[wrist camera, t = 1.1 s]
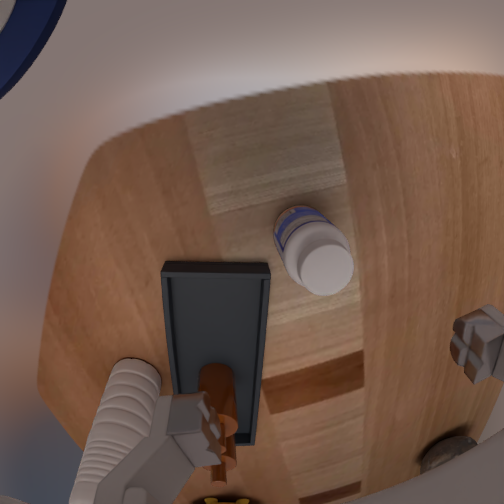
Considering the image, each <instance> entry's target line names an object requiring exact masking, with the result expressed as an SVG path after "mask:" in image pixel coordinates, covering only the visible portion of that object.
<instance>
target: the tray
mask: <svg viewBox="0 0 504 504" xmlns="http://www.w3.org/2000/svg"><path fill="white" fill-rule="evenodd" d="M270 279H271V273H270V270H269V267H268V264H267V263H233V262H181V261H165V263H164V265H163V267H162V270H161V285H162V298H163V309H164V320H165V329H166V339H167V347H168V355H169V363H170V371H171V378H172V385H173V392H174V395H176V394H185V393H193V392H197V384H198V373H199V371H200V369H201V368H202V367H204V366H205V365H207V364H211V363H221V364H224V365H227V366H228V367H230V368H231V369H232V370H233V372H234V374H235V386H236V402H237V416H238V429H237V431H236V432H235V445H236V446H250V445H254V444H255V435H256V426H257V417H258V407H259V398H260V388H261V378H262V368H263V357H264V347H265V336H266V325H267V314H268V302H269V291H270Z"/></svg>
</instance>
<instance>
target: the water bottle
mask: <svg viewBox="0 0 504 504" xmlns="http://www.w3.org/2000/svg"><path fill="white" fill-rule="evenodd" d="M160 389H161V377H160V375H159V374H158V372H157V370H156V369H155V368H154V367H153V366H151V365H150V364H146V362H144V361H142V360H139V359H129V358H128V359H123V360H120V361H119V362H117V363H116V364H115V365H114V367H113V369H112V372H111V374H110V376H109V381H108V382H107V384H106V387H105V392H104V394H103V395H102V398H101V401H100V405H99V407H98V409H97V415H96V416H95V418H94V421H93V424H92V429H91V430H90V433H89V435H88V439H87V443H86V447H85V449H84V453H83V455H82V456H83V457H82V459H81V462H80V464H81V465H80V466H79V471H78V473H77V478H76V479H75V485H74V487H73V489H72V492H71V495H70V499H69V504H93V502H94V498H95V493H96V489H97V485H98V483H99V482H100V481H101V480H102V479H103V478H104V477H105V476H106V475H107V474H108V473H109V472H110V471H111V470H112V469H113V468H114V467H115V466H116V465H117V464H118V463H119V462H120V461H121V460H122V459H123V458H124V457H125V456H126V455H127V454H128V453H129V452H130V451H131V450H132V449H133V448H134V447H135V446H136V445H137V444H138V443H139V442H140V441H141V440H142V439H143V438H144V437H149V434H150V428H151V423H152V418H153V413H154V409H155V404H156V400H157V398H158V397H159V394H160Z"/></svg>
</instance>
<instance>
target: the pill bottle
mask: <svg viewBox="0 0 504 504" xmlns="http://www.w3.org/2000/svg"><path fill="white" fill-rule="evenodd" d="M273 236H274V242H275V245H276V247H277V249H278V251H279V254H280V256H281V259H282V261H283V263H284V266H285V268H286V270H287V272H288V274H289V275H290V277H291V278H292V279H293V280H294V281H295V282H297V283H298V284H300V285H302V286H305V288H306V289H307V290H308V291H310V292H311V293H313V294H316V295H320V296H327V295H332V294H335V293H337V292H339V291H340V290H342V289H343V288H344V287H345V286H346V285H347V284H348V283H349V281H350V279H351V277H352V274H353V270H354V263H353V259H352V257H351V255H350V246H349V243H348V241H347V239H346V237H345V235H344V234H343V233H342V232H341V231H340V230H339V229H338V228H337V227H336V226H334V225H333V224H332V223H331V222H330V221H329V220H328V219H326V218H325V217H324V216H323V215H322V214H321V213H320V212H318V211H317V210H316V209H314V208H312V207H309V206H294V207H291V208H289V209H287V210H285V211H284V212H283V213H282V214H281V215H280V216H279V217H278V219H277V220H276V223H275V226H274V231H273Z"/></svg>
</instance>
